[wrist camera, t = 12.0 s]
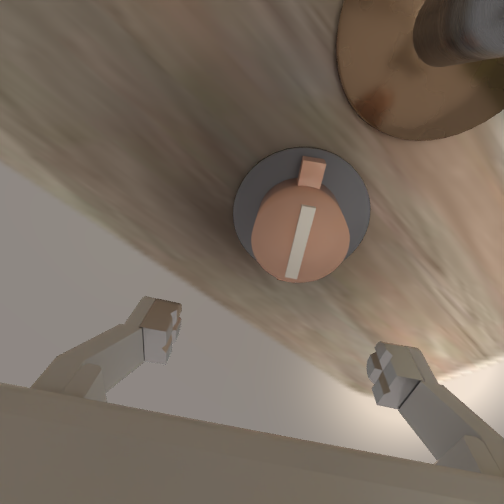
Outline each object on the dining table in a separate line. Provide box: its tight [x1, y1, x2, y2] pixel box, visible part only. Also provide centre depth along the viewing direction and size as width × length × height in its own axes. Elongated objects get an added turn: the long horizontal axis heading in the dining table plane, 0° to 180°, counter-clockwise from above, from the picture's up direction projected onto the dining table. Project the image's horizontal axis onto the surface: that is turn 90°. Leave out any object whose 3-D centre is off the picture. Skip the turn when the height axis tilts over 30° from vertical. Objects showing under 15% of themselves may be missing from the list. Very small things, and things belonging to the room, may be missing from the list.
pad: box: [233, 147, 370, 260], centre depth 21 cm, size 10×10×1 cm
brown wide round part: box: [336, 0, 504, 141], centre depth 11 cm, size 11×11×8 cm
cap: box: [251, 156, 350, 283], centre depth 19 cm, size 9×6×4 cm, turn 172°
